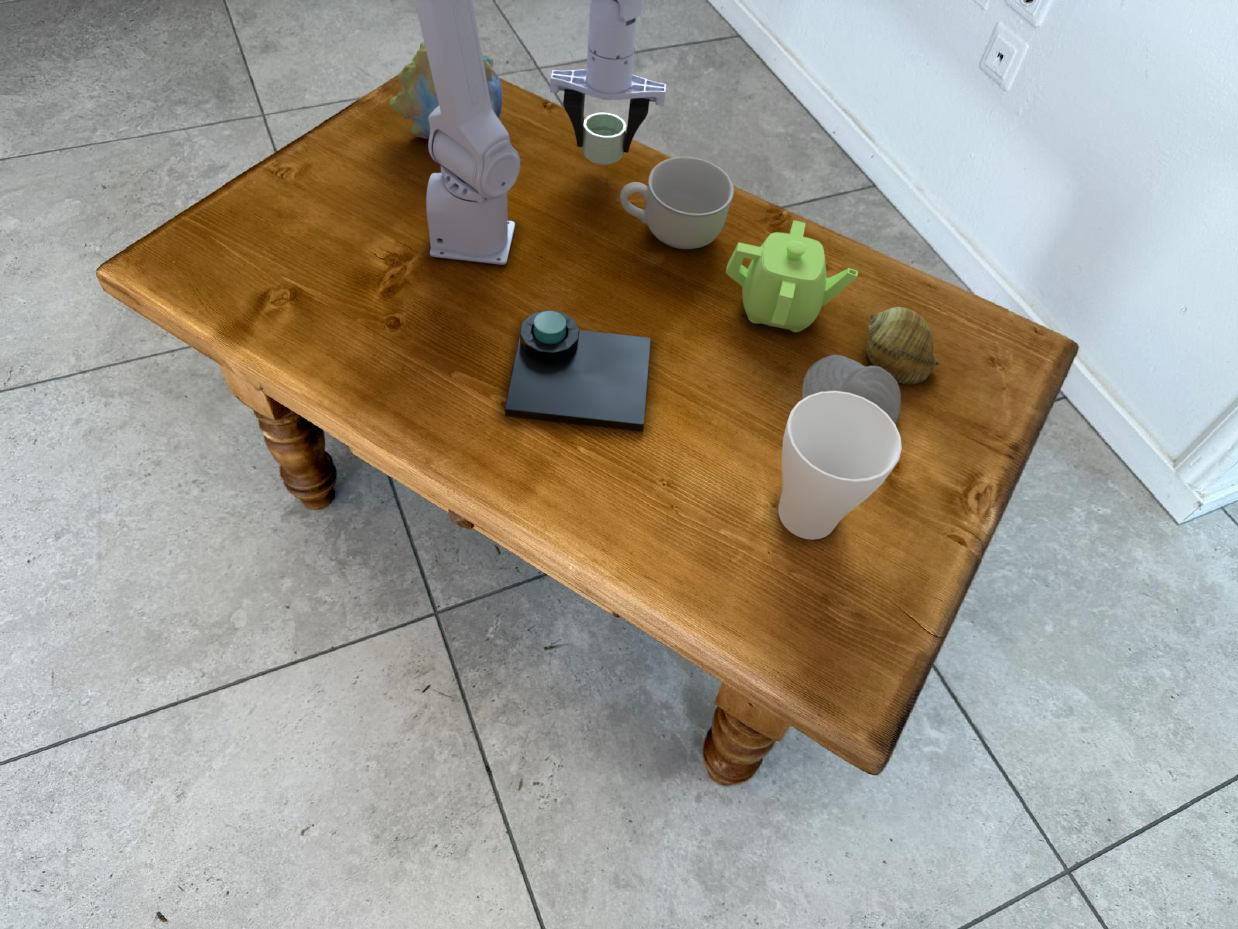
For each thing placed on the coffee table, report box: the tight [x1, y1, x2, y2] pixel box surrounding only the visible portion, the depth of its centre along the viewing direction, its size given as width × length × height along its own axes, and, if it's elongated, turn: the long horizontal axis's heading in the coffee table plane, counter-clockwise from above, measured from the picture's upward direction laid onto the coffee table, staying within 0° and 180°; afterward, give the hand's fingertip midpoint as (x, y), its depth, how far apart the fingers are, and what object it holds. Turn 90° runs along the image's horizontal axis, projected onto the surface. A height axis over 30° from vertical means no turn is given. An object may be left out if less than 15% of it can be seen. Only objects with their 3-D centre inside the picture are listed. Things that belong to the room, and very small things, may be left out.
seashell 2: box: [865, 306, 940, 386], centre depth 103 cm, size 10×7×8 cm
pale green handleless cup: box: [581, 112, 627, 166], centre depth 118 cm, size 6×6×4 cm
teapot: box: [725, 220, 859, 333], centre depth 105 cm, size 12×12×10 cm
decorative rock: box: [389, 42, 503, 140], centre depth 119 cm, size 14×16×15 cm
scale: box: [504, 309, 652, 432], centre depth 98 cm, size 15×14×3 cm
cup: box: [778, 391, 903, 541], centre depth 85 cm, size 10×10×14 cm
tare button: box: [534, 310, 566, 345], centre depth 99 cm, size 4×4×2 cm
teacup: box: [619, 156, 735, 250], centre depth 112 cm, size 14×11×8 cm
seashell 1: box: [801, 354, 902, 426], centre depth 97 cm, size 12×6×10 cm
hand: (603, 145), depth 118 cm, fingers closed on pale green handleless cup, 5 cm apart
